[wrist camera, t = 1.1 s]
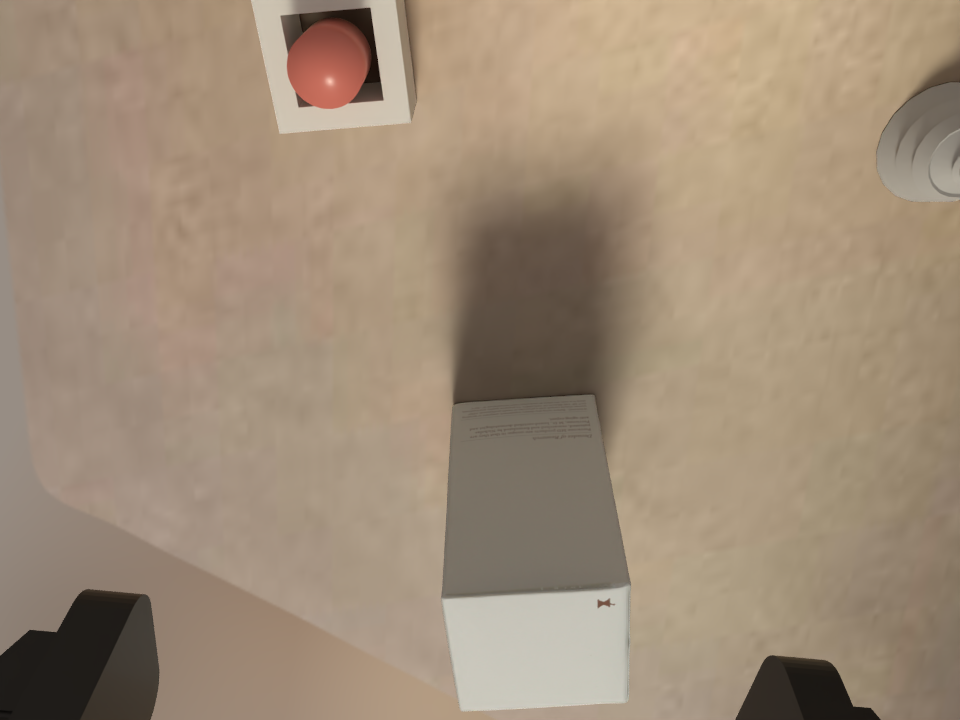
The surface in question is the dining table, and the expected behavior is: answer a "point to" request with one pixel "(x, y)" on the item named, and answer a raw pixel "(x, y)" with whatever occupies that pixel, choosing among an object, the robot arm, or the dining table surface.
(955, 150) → the chalice
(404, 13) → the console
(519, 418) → the supplement box
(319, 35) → the button
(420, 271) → the dining table surface
